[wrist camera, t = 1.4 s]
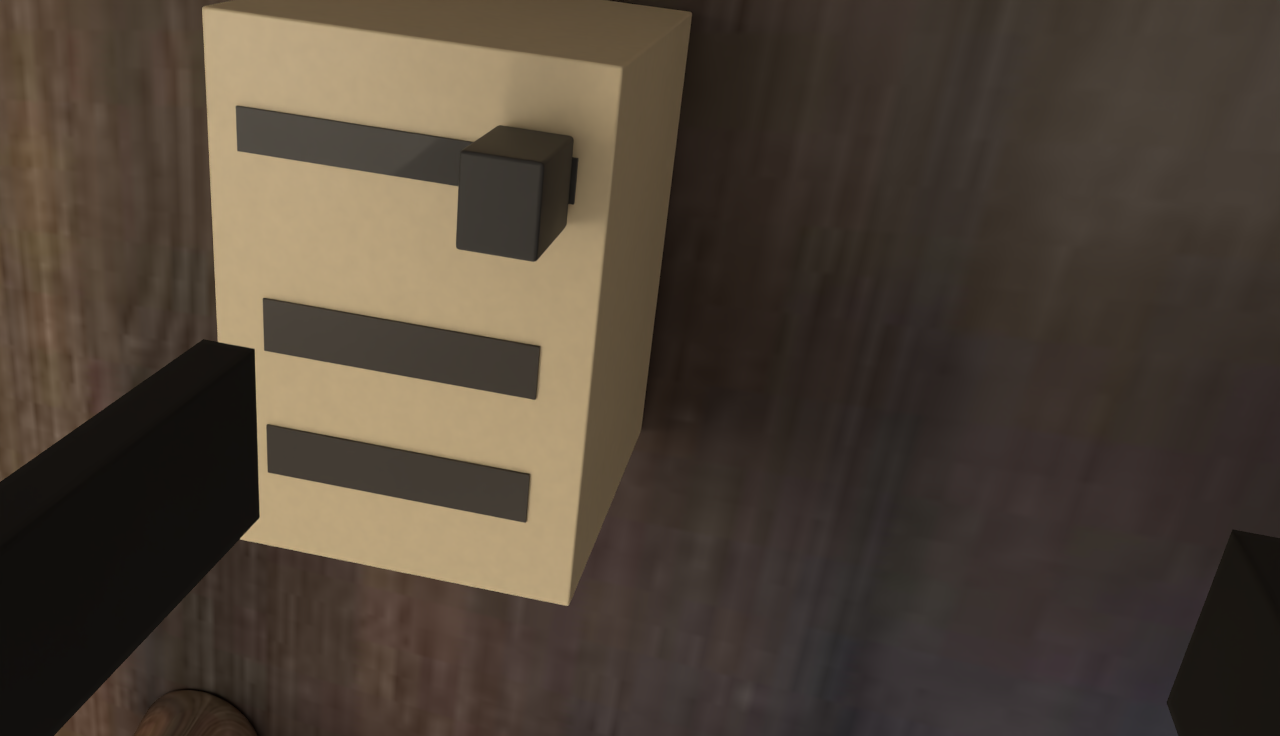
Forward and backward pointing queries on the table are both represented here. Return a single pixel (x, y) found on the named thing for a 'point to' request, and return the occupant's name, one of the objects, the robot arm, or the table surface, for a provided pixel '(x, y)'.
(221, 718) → the beer glass
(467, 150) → the button
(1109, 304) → the table surface
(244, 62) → the toaster
